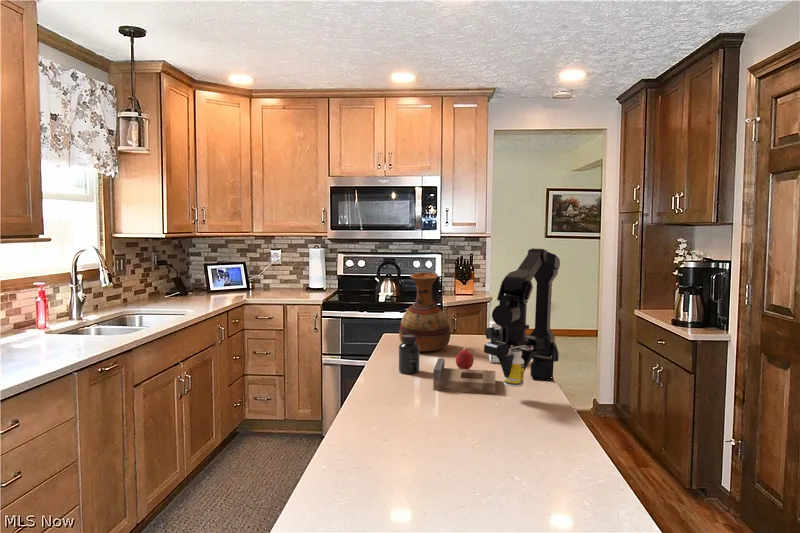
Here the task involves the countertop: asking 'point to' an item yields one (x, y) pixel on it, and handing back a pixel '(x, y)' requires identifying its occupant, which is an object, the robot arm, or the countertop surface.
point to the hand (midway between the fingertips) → (513, 375)
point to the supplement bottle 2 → (516, 370)
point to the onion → (464, 359)
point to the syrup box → (492, 357)
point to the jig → (463, 379)
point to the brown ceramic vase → (426, 315)
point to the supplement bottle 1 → (409, 355)
